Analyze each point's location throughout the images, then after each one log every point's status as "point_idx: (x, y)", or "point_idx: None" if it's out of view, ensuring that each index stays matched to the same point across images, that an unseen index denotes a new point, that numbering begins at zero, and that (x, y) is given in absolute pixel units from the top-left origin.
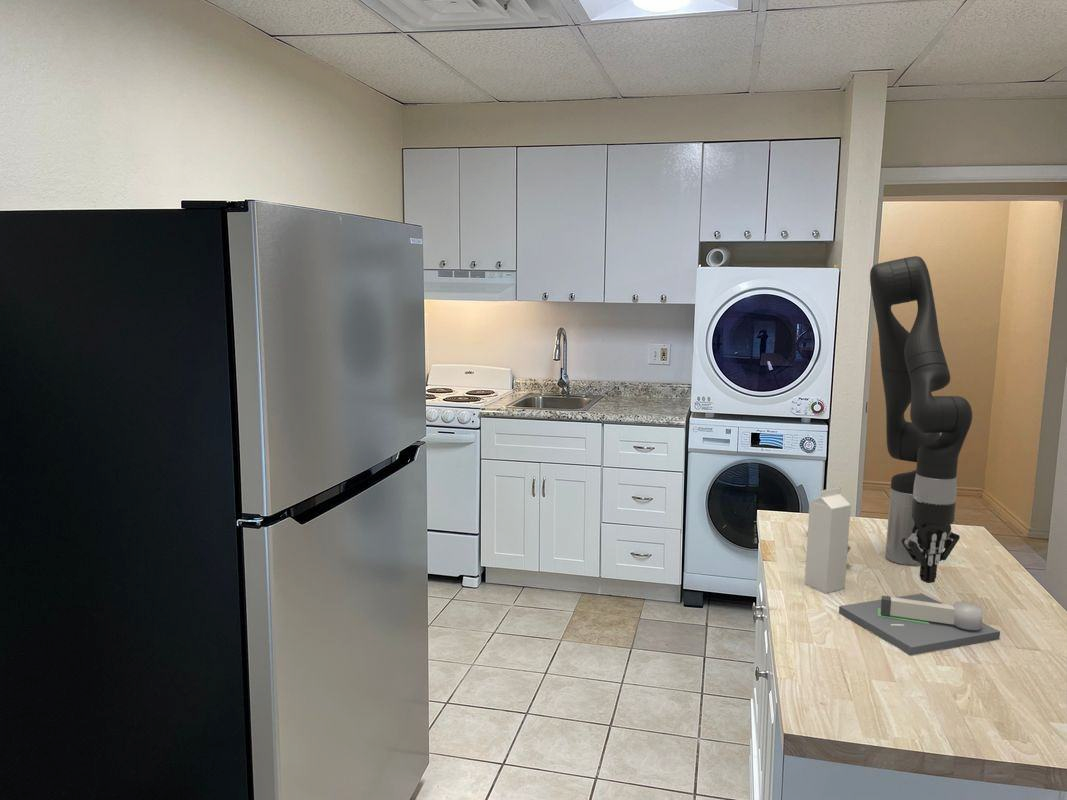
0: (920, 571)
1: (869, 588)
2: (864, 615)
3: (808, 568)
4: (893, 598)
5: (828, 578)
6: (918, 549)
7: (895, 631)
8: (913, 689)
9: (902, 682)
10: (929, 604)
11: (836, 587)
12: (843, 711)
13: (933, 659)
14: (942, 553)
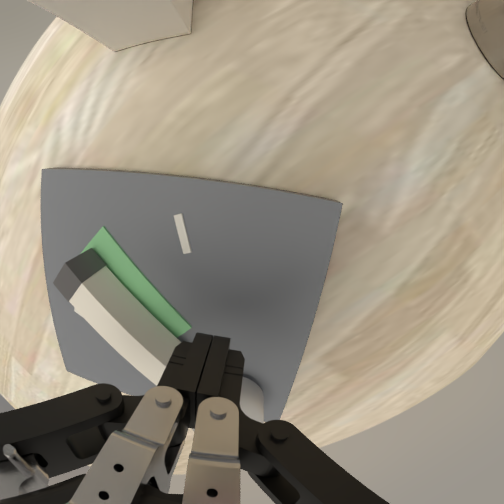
0: (169, 363)
1: (266, 57)
2: (55, 239)
3: None
4: (82, 295)
5: (97, 35)
6: (55, 469)
7: (70, 327)
8: (42, 392)
9: (37, 380)
10: (152, 371)
11: (149, 37)
12: None
13: None
14: (262, 481)
